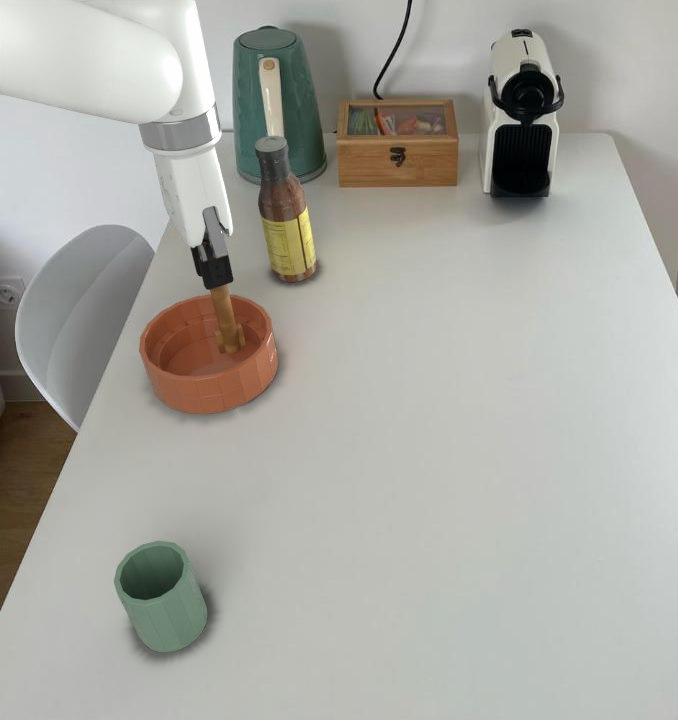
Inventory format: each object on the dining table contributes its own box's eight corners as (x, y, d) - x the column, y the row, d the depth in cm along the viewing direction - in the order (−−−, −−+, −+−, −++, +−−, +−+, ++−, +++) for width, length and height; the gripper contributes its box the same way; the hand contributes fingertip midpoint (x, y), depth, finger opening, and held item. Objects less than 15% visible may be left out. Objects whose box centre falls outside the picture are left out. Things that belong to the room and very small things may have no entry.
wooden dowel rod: (222, 357, 96) (194, 244, 85) (217, 347, 97) (189, 235, 86) (248, 348, 97) (223, 235, 86) (242, 339, 98) (217, 226, 87)
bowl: (172, 435, 91) (159, 397, 87) (137, 356, 101) (125, 319, 97) (297, 387, 96) (291, 349, 92) (253, 316, 106) (245, 279, 102)
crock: (148, 665, 71) (124, 617, 65) (131, 608, 75) (106, 559, 70) (216, 633, 73) (198, 584, 67) (195, 579, 77) (176, 529, 72)
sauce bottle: (300, 252, 116) (281, 123, 102) (326, 272, 112) (310, 140, 99) (262, 271, 113) (237, 140, 100) (286, 291, 109) (264, 159, 96)
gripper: (120, 101, 82) (162, 252, 94) (163, 169, 71) (204, 329, 83) (192, 84, 84) (224, 234, 96) (244, 147, 73) (273, 306, 86)
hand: (215, 277), depth 90 cm, fingers closed on wooden dowel rod, 2 cm apart
